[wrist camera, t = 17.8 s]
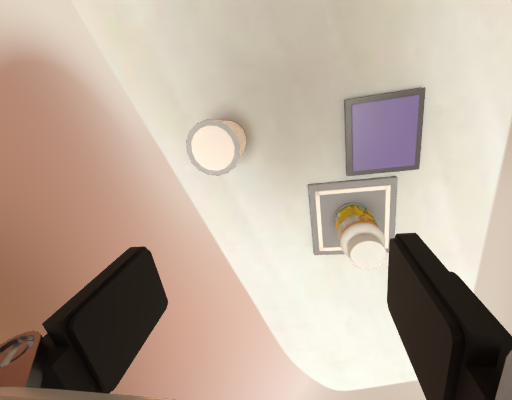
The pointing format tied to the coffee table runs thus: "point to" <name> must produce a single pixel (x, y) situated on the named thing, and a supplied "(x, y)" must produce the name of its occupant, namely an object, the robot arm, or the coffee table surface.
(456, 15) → the coffee table surface
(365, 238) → the supplement bottle
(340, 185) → the grey square tile
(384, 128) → the ink pad
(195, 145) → the white short cylinder
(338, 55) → the coffee table surface
